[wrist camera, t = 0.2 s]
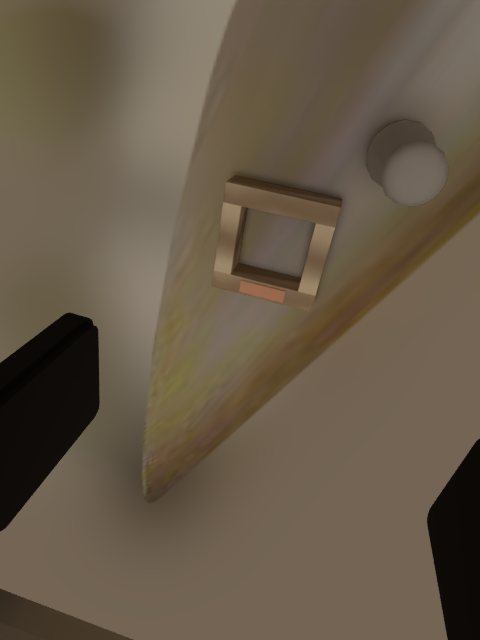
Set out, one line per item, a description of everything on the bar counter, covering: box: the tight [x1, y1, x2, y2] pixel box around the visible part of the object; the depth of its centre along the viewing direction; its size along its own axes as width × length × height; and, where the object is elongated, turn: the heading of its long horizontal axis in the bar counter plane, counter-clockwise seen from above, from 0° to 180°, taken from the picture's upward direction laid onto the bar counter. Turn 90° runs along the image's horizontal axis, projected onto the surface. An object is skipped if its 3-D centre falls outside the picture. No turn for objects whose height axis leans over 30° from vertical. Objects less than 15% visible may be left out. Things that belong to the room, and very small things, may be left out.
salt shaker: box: [366, 120, 448, 207], centre depth 32 cm, size 6×6×13 cm
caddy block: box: [212, 176, 342, 312], centre depth 43 cm, size 12×11×4 cm
